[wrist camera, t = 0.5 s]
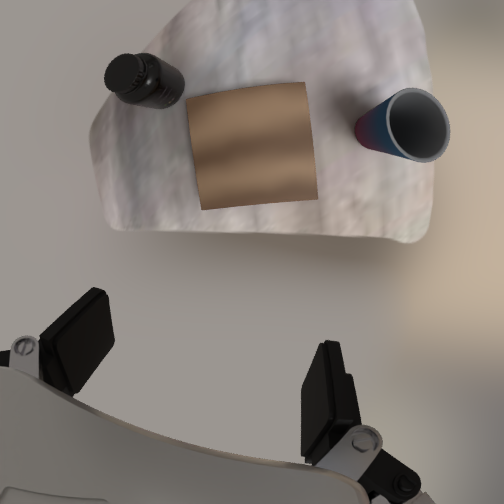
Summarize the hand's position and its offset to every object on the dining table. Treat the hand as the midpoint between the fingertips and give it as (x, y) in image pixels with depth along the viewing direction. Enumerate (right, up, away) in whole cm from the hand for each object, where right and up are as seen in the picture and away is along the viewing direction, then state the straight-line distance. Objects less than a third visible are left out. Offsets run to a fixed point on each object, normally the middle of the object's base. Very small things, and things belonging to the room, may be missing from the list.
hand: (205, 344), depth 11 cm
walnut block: (+3, +18, +25) cm, 31 cm away
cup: (+18, +20, +22) cm, 35 cm away
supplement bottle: (-11, +27, +23) cm, 37 cm away
